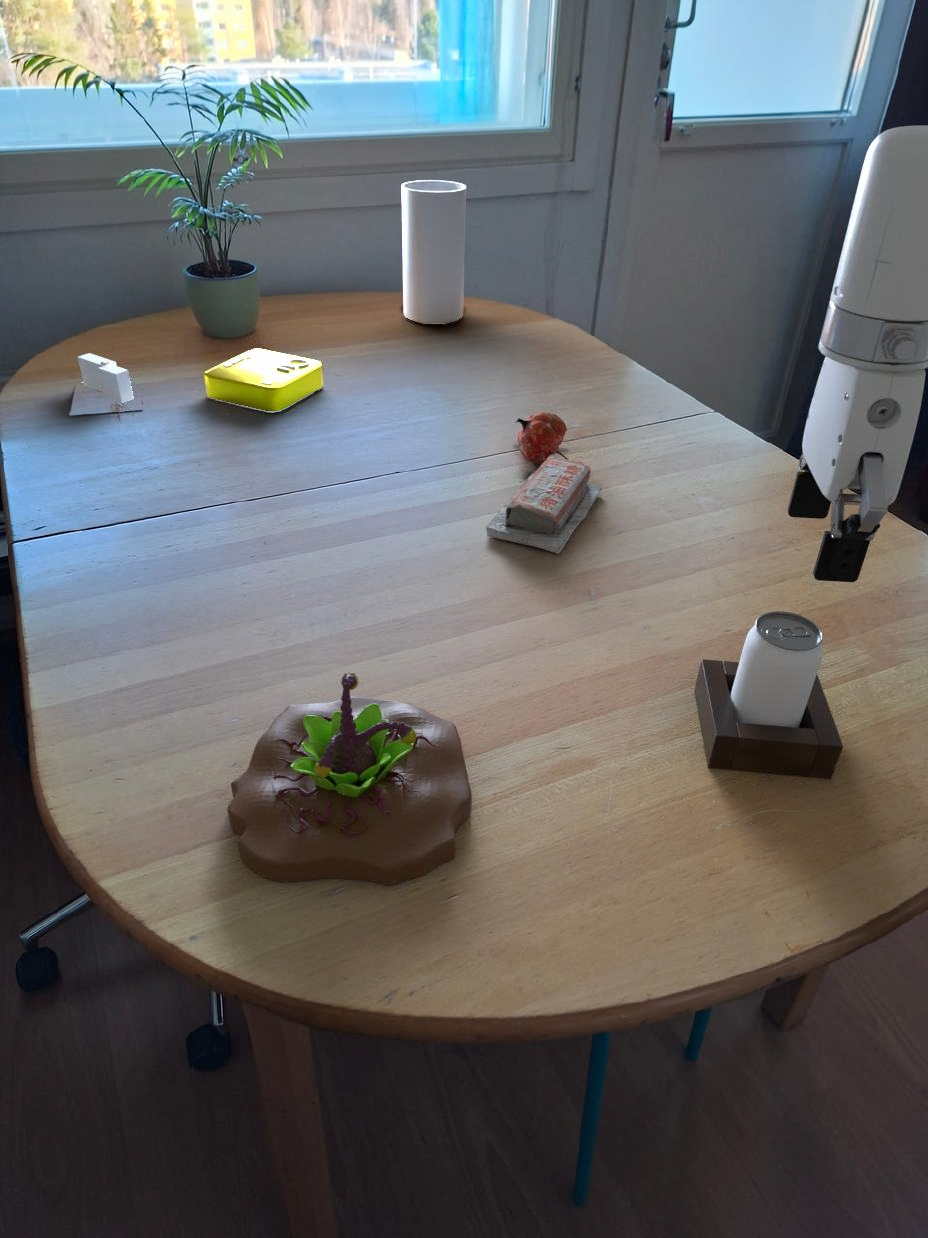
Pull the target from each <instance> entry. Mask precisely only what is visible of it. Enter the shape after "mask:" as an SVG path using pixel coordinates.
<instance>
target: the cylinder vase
mask: <svg viewBox="0 0 928 1238" xmlns="http://www.w3.org/2000/svg"><path fill="white" fill-rule="evenodd" d="M466 208H467V185H466V184H464V183H460V182H456V181H451V180H436V179H435V180H433V179H429V180H428V179H427V180H425V179H423V180H413V181H407V182H404V183H401V223H402V224H401V234H402V235H401V237H402V239H401V240H402V242H401V243H402V294H403V297H402V301H403V303H402V304H403V316H404V317H405V319H407V318H408V319H410V320H413V321H416V322H422V323H448V322H453V321H456V320H458V321H460V320H461V319H462V318H463V316H464V301H465V300H464V299H465V298H464V296H465V260H466V259H465V255H466V254H465V253H466V216H467V215H466V211H467V210H466ZM460 318H461V319H460ZM408 319H407V320H408ZM459 319H460V320H459ZM410 320H409V321H410ZM456 322H457V321H456ZM453 323H454V322H453Z"/></svg>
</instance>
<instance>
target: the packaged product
mask: <svg viewBox="0 0 928 1238" xmlns="http://www.w3.org/2000/svg"><path fill="white" fill-rule="evenodd" d="M568 459H569V458H568ZM568 459H565V458H564V457H556V456H549V457H548V459H547V460H546V461H545V462H544V463H542V464H540V465H539V467H538V468H537V469H536V471H533V472H532V473H531V475H530V476H529V477H528V478H527V479H526V481H525V482H524V483H523V484H522V485H521V487H519V489H518V490H517V491H516V492H515V493H514V494H513V495H512V497H511V498H510V499H509V500H508V501H506V504H504V506H503V507H502V508H501V509H500V510H499V511H498V513H497V514H496V515H495V516H494V517H493V518H492V519H491V521H490V522H489V523H488V524H487V525H486V526H485V530H486V531H485V532H486V536H487V537H489V538H493V539H499V540H503V541H508V542H513V543H517V544H522V545H525V546H530V547H535V548H539V549H543V550H546V551H549V552H551V553H554V554H558V555H559V554H560V553H561V551H562V550H563V548H564V547H565V546H566V544H567V542H568V541H569V540H570V537H571V536H572V534H573V533H574V531H576V529H577V528H578V526H579V525H580V523H581V522H583V521H584V520H585V519H586V518H587V516H588V512H589V510H590V508H591V507H592V506H593V504H594V502H595V501H596V500H597V498H598V496H599V495H600V493H601V492H602V491H603V487H602V486H597V485H593V484H589V480H590V477H591V471H592V469H591V467H590V466H588V465H587V464H585V463H584V462H582V461H576V460H572V459H571V460H570V459H569V460H568Z"/></svg>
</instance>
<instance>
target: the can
mask: <svg viewBox="0 0 928 1238" xmlns="http://www.w3.org/2000/svg"><path fill="white" fill-rule="evenodd" d="M823 639H824V634H823V631H822V629H821V628H820V626H818V625H817V624H816V623H815V622H814V621H812V620H810V619H809V618H807V617H805V616H803V615H801V614H798V613H795V612H790V611H785V610H784V611H783V610H774V611H773V610H772V611H768V612H765V613H762V614H760V615H759V616H758V617H757V618H756V620H755V623H754V625H753V626H752V627H751V628H750V629H749V631H748V633H747V635H746V637H745V640H744V644H743V648H742V650H741V654H740V658H739V661H738V662H739V665H738V669H737V673H736V677H735V680H734V684H733V688H732V692H731V695H730V698H731V703H732V707H733V712H734V716H735V721H736V723H737V722H738V723H749V724H761V725H773V726H784V727H796V728H799V725H800V722H801V719H802V716H803V714H804V711H805V708H806V705H807V702H808V699H809V696H810V693H811V690H812V687H813V684H814V681H815V678H816V675H818V672H819V668H820V665H821V662H822V659H823V655H824V648H823V644H822V643H823Z"/></svg>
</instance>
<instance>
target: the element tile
mask: <svg viewBox="0 0 928 1238" xmlns="http://www.w3.org/2000/svg"><path fill="white" fill-rule="evenodd" d="M323 372H324V371H323V363H322V362H321V361H319V360H315V359H311V358H306V357H301V356H297V355H292V354H286V353H283V352H277V351H273V350H267V349H262V348H253V349H251V350H247V351H245V352H243V353H240V354H238V355H236V356H235V357H232V358H230V359H228V360H226V361H224V362H222V363H220V364H218V365H216V366H213V367H211V368H208V369H207V370H205V371H204V372H203V378H204V385H205V391H206V397H207V396H208V397H210V398H214V399H218V400H222V401H226V402H231V403H235V404H239V405H244V406H248V407H252V408H256V409H261V410H265V411H279V410H282V409H284V408H286V407H288V406H290V405H291V404H293V403H295V402H297V401H298V400H300V399H302V398H304V397H305V396H307V395H309V394H311V393H312V392H314V391H316V390H318V389H319V388H321V387H322V386H323V385H324V373H323ZM324 386H325V385H324ZM324 386H323V387H324ZM208 397H207V398H208Z"/></svg>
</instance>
